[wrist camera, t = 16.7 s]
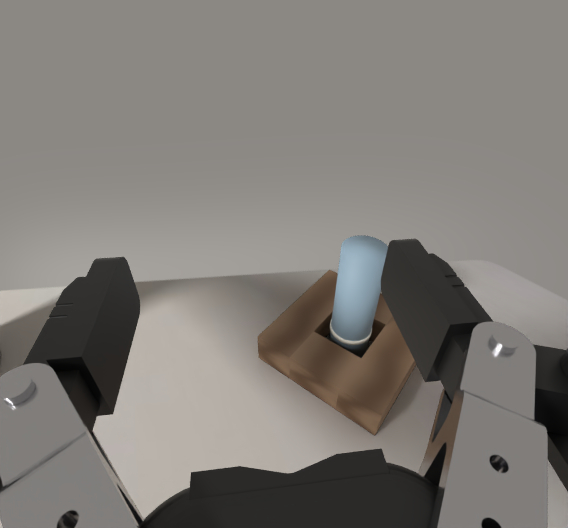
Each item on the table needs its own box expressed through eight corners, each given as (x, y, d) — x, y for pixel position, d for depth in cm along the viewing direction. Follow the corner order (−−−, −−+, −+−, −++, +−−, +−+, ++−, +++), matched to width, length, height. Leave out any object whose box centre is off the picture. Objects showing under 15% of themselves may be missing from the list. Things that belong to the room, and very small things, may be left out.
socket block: (258, 357, 45) (257, 336, 42) (327, 290, 55) (329, 269, 52) (374, 435, 37) (381, 415, 35) (429, 340, 47) (438, 319, 45)
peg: (319, 352, 46) (331, 251, 36) (339, 328, 49) (355, 229, 39) (354, 373, 43) (376, 270, 33) (373, 347, 46) (398, 246, 36)
